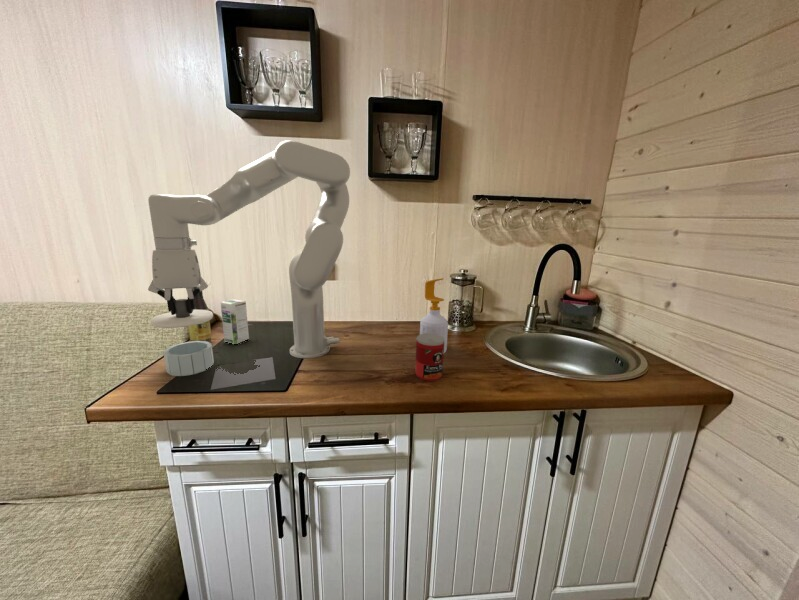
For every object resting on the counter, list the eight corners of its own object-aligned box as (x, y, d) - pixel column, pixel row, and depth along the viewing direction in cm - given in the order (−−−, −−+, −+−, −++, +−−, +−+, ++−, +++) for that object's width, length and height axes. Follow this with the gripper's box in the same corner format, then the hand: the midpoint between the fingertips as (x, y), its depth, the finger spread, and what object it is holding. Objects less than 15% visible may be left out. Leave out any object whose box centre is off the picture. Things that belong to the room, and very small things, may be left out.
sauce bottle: (202, 347, 105) (194, 288, 100) (186, 345, 106) (177, 287, 102) (216, 340, 111) (209, 284, 107) (201, 338, 112) (194, 283, 108)
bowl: (215, 357, 97) (213, 339, 96) (211, 372, 88) (208, 352, 86) (172, 363, 93) (169, 344, 91) (163, 379, 83) (159, 358, 82)
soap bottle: (433, 358, 100) (437, 281, 94) (413, 349, 107) (416, 277, 101) (452, 351, 106) (456, 278, 100) (432, 343, 113) (435, 274, 107)
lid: (215, 311, 96) (213, 293, 94) (210, 324, 83) (207, 304, 82) (158, 315, 90) (155, 296, 89) (144, 330, 78) (140, 308, 76)
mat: (272, 358, 98) (272, 357, 97) (275, 380, 84) (275, 378, 84) (216, 366, 92) (216, 365, 91) (210, 391, 78) (210, 389, 78)
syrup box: (223, 342, 109) (219, 302, 106) (238, 337, 114) (234, 298, 111) (236, 345, 107) (231, 303, 103) (250, 339, 112) (246, 300, 109)
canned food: (424, 384, 84) (426, 345, 81) (409, 371, 91) (411, 335, 88) (448, 378, 87) (450, 340, 85) (432, 366, 94) (434, 331, 92)
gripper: (211, 243, 89) (218, 307, 93) (138, 243, 82) (149, 312, 86) (208, 245, 82) (215, 313, 86) (128, 245, 75) (141, 319, 80)
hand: (182, 312), depth 86 cm, fingers closed on lid, 3 cm apart
